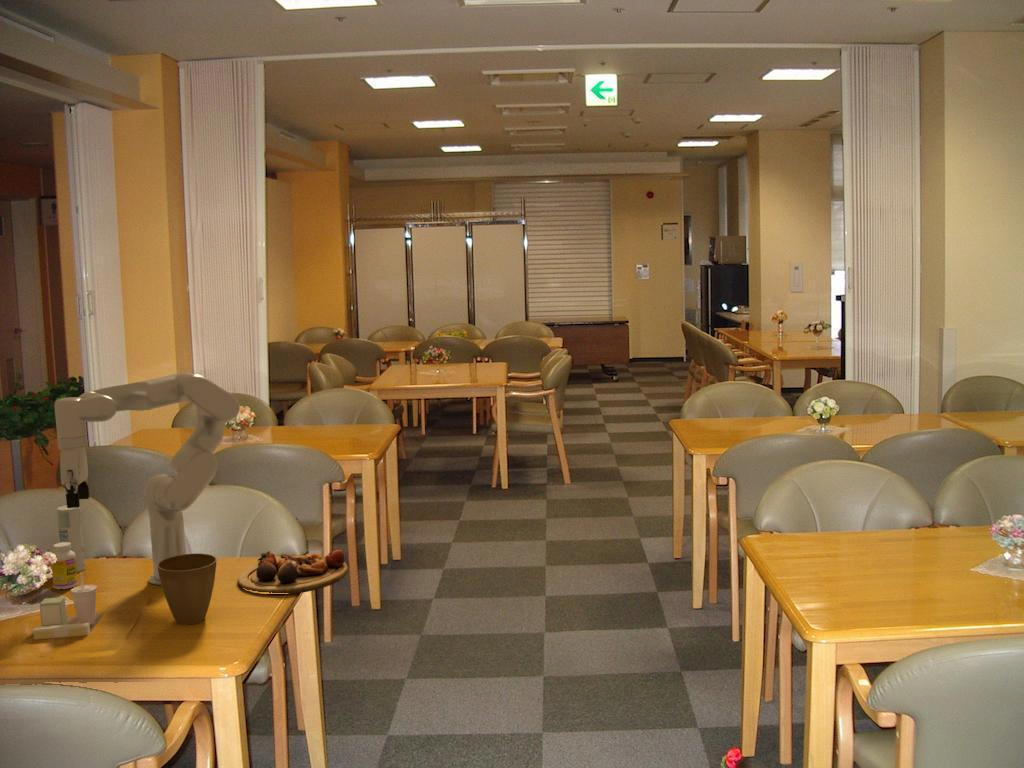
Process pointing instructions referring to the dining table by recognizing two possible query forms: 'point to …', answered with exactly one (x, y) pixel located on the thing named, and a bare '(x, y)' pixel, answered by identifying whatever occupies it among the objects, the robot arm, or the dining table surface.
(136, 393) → the robot arm
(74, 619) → the shelf board
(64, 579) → the supplement bottle
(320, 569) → the wooden plate with food
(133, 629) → the dining table surface
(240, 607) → the dining table surface
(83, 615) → the smoothie
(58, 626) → the rail
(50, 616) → the tea box
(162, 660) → the dining table surface
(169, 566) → the plant pot
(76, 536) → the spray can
